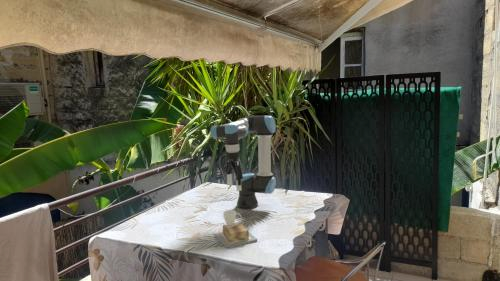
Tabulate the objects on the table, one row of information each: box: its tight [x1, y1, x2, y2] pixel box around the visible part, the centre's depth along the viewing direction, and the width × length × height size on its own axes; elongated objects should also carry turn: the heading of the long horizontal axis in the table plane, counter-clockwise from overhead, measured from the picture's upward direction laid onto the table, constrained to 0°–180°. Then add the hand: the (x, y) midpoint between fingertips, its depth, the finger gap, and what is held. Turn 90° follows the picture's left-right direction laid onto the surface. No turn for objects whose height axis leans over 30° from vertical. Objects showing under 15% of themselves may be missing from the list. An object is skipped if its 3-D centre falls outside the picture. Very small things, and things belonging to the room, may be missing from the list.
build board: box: [214, 232, 258, 249], centre depth 195 cm, size 18×18×1 cm
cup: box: [223, 209, 242, 227], centre depth 198 cm, size 7×10×8 cm
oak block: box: [222, 222, 250, 243], centre depth 195 cm, size 11×13×5 cm
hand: (234, 187), depth 202 cm, fingers open, 13 cm apart
